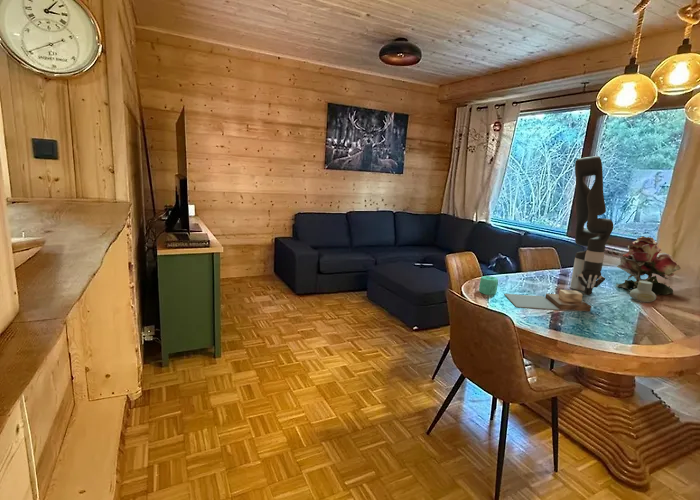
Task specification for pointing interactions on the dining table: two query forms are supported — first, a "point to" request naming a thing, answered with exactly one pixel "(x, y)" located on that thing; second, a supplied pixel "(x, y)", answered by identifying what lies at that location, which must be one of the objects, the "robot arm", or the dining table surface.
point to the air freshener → (643, 292)
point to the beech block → (570, 295)
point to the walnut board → (567, 303)
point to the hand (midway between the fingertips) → (587, 295)
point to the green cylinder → (488, 285)
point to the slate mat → (531, 302)
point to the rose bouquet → (647, 265)
